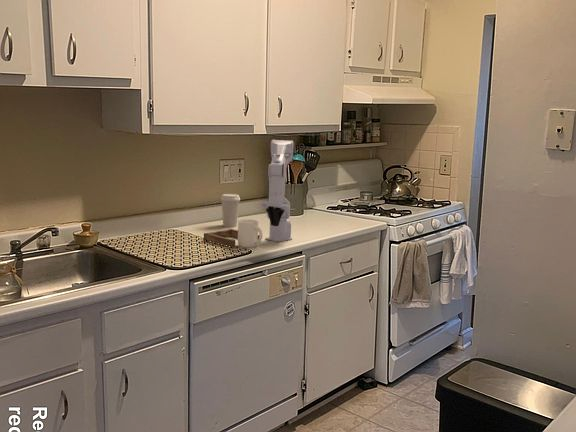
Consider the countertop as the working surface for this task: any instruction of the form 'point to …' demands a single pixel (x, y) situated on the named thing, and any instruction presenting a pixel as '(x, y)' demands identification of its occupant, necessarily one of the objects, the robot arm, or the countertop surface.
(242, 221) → the mug
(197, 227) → the countertop surface
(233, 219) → the coffee cup
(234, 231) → the box
